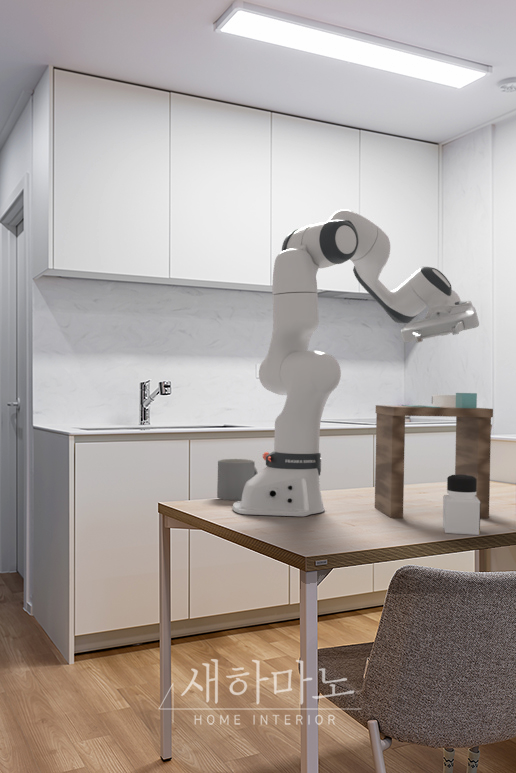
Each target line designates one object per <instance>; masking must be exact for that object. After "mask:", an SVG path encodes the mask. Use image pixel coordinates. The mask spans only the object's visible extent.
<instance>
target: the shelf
mask: <svg viewBox="0 0 516 773" xmlns="http://www.w3.org/2000/svg"><path fill="white" fill-rule="evenodd" d="M375 414H376V418H375V419H376V421H375V422H376V425H375V426H376V427H375V428H376V430H375V431H376V432H375V470H374V471H375V476H374V477H375V478H374V479H375V480H374V508H375V509H377V510H378V511H379V512H380V513H382V514H384V515H386V517H388V518H391V519H404V496H405V495H404V494H405V492H404V490H405V489H404V488H405V486H404V485H405V445H406V444H405V440H406V439H405V437H406V417H407V416H408V417H446V418H447V417H452V418H453V417H454V418H456V419H455V458H454V459H455V465H454V466H455V468H454V475H470V476H473V477H475V478H476V479H477V488H476V495H475V496H476V497H477V498H478V499H479V501H480V503H481V506H480V519H490V498H491V497H490V489H491V488H490V487H491V486H490V485H491V447H492V446H491V445H492V444H491V442H492V441H491V438H492V437H491V436H492V432H491V431H492V418H494V408H488V407H485V408H484V407H477V408H455V407H442V406H432V405H422V404H421V405H419V404H418V405H416V404H402V405H389V404H388V405H382V404H381V405H379V404H377V405H375Z"/></svg>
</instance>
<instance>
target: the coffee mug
mask: <svg viewBox="0 0 516 773" xmlns="http://www.w3.org/2000/svg"><path fill="white" fill-rule="evenodd" d="M258 473H259V472H258V469H257V467H256V466H255V460H254V459H248V458H247V459H246V458H221V459H218V460H217V488H216V489H217V490H216V491H217V492H216V493H217V495H216V496H217V499H219V500H223V501H235V502H238V501H241V499H242V493H243V489H244V486H245V484H246V482H247V481H248V480H250V479H251V478H252V477H254V476H255V475H256V474H258Z"/></svg>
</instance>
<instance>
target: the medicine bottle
mask: <svg viewBox="0 0 516 773" xmlns="http://www.w3.org/2000/svg"><path fill="white" fill-rule="evenodd" d="M446 480H447V482H446V493H447V494H444V495H443V496H442V497H443V501H442V502H443V504H442V528H443V530H444V533H445V534H450V535H451V534H453V535H455V534H456V535H470V536H472V535H473V536H479V535H481V518H480V506H481V503H480V501H479V499H478V498H477V497H476V496H475V495H476V488H477V479H476V478H475V477H473V476H470V475H455V474H451V475H449V476H448V477H447V479H446Z"/></svg>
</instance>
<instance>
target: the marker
mask: <svg viewBox="0 0 516 773" xmlns="http://www.w3.org/2000/svg"><path fill="white" fill-rule="evenodd" d="M477 395H478V394H477V393H476V392H455V394H432V395H431V406H442V407H455V408H478V407H477V405H478V404H477V402H478V400H477V399H478V396H477Z"/></svg>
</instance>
